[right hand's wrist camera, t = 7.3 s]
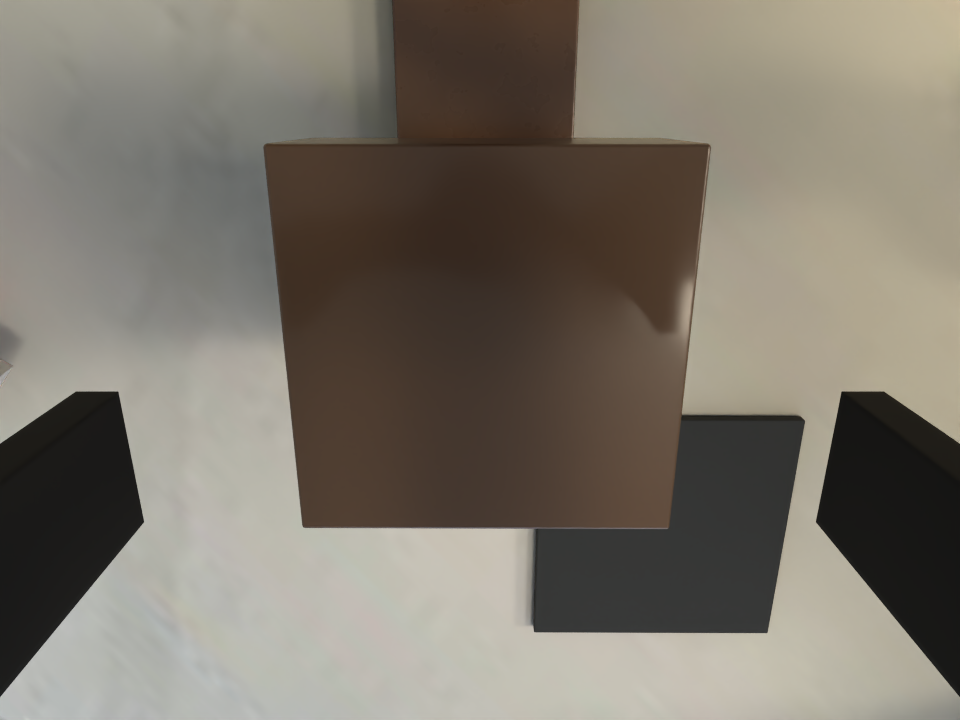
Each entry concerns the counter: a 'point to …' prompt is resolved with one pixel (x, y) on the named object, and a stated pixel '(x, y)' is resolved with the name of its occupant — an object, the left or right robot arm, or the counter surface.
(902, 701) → the counter surface
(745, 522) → the coaster
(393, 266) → the lid
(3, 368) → the toy
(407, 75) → the wooden base with post
